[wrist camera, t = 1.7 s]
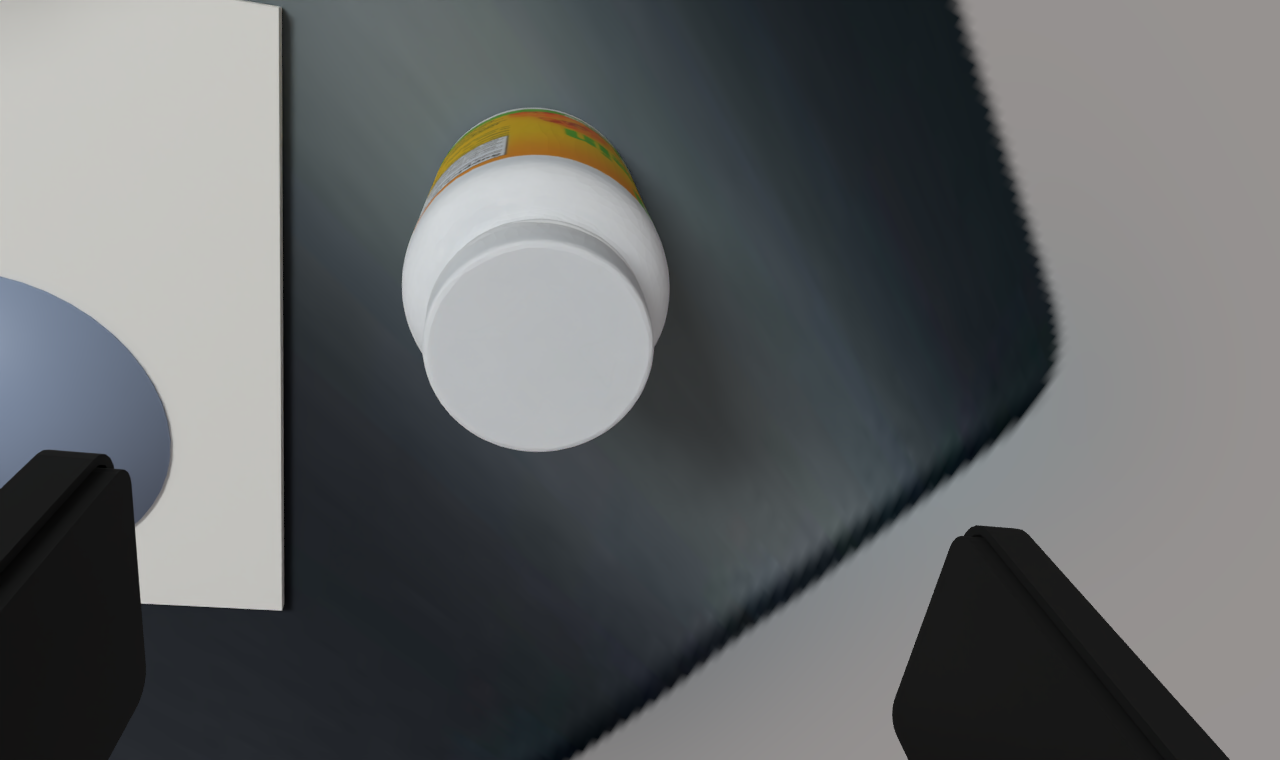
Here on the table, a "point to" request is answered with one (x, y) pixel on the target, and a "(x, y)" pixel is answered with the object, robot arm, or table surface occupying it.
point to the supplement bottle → (535, 282)
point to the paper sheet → (151, 274)
